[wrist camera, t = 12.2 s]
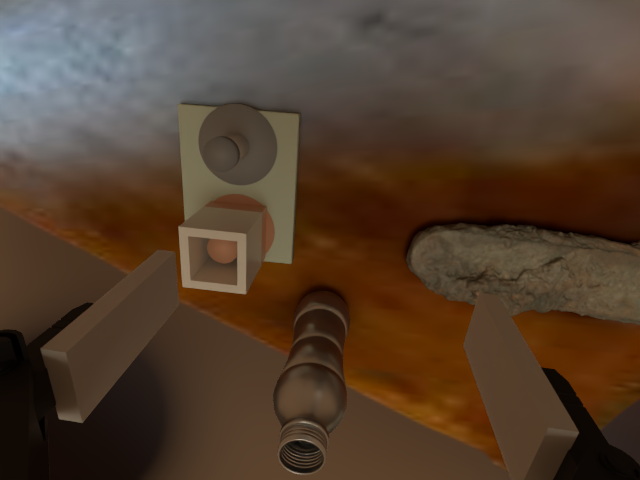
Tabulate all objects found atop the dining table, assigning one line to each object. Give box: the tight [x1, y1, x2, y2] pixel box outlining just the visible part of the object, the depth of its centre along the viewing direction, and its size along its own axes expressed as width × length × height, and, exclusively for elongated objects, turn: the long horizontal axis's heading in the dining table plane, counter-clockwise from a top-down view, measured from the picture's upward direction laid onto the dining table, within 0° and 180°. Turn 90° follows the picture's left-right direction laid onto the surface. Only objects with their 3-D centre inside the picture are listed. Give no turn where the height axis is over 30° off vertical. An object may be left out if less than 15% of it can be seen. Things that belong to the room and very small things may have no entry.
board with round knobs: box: [178, 103, 301, 264], centre depth 38 cm, size 17×12×7 cm
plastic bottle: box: [273, 291, 350, 475], centre depth 37 cm, size 6×7×20 cm
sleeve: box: [179, 201, 267, 294], centre depth 38 cm, size 6×6×8 cm
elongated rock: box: [406, 223, 640, 325], centre depth 40 cm, size 35×5×10 cm
